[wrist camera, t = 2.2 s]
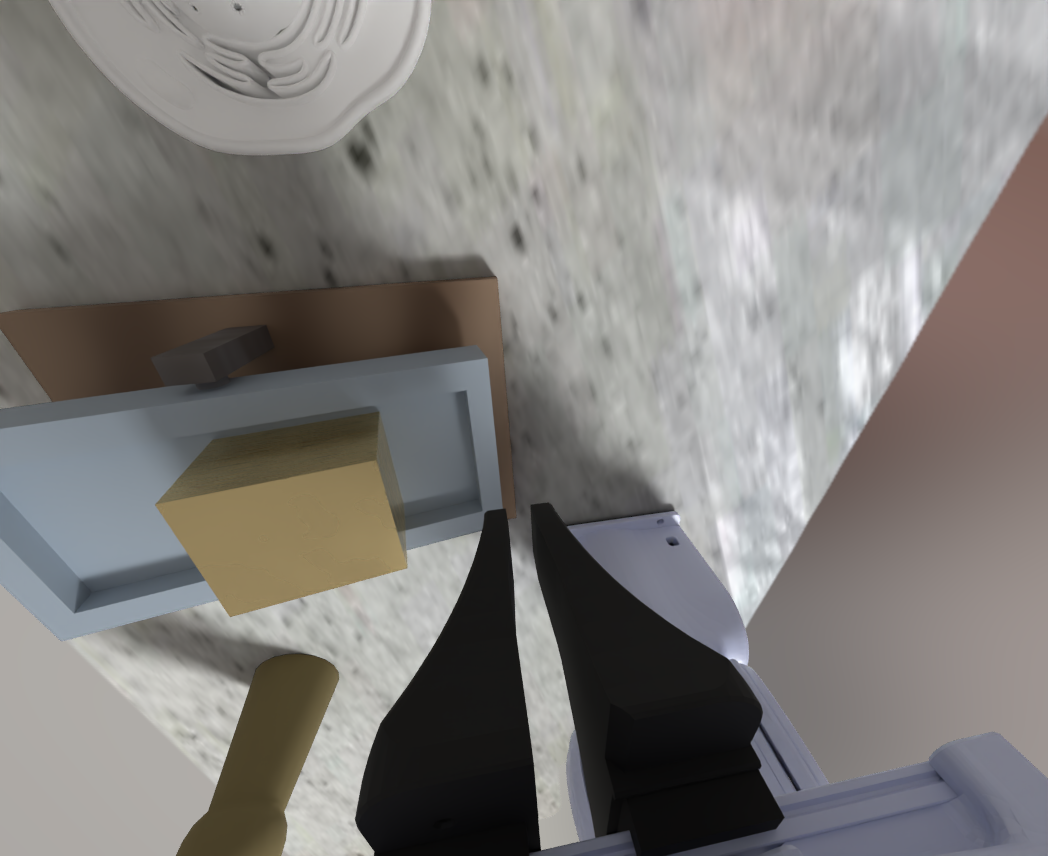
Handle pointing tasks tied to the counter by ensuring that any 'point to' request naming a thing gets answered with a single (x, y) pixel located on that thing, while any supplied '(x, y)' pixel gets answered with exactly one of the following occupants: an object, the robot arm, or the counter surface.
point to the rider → (290, 511)
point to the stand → (261, 339)
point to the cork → (265, 759)
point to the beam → (175, 442)
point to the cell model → (253, 64)
